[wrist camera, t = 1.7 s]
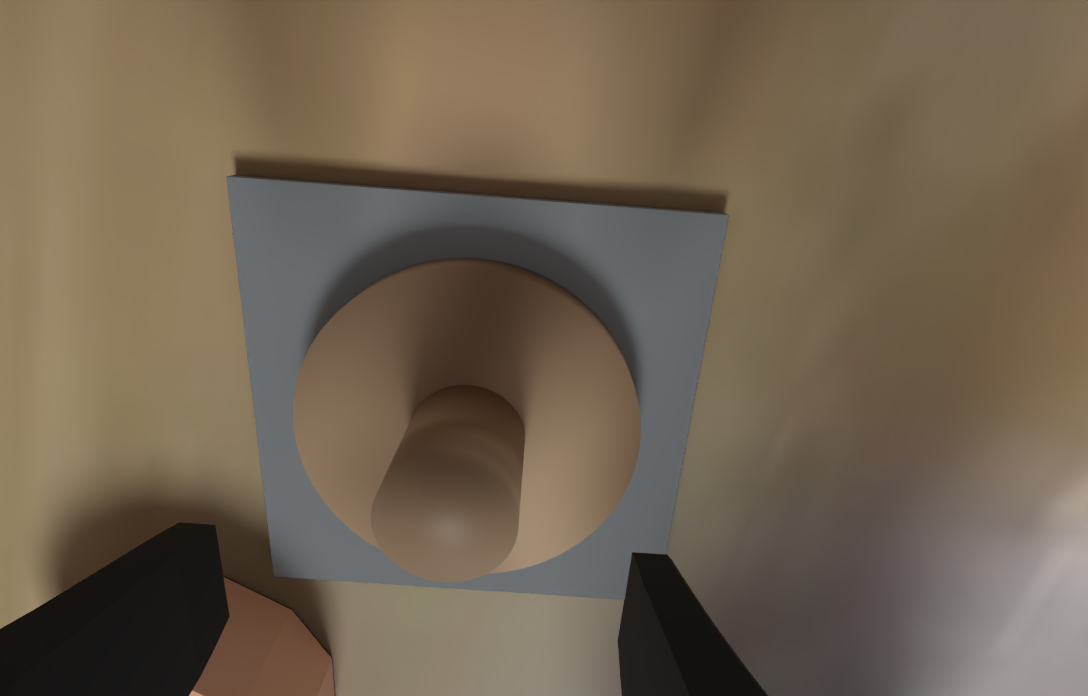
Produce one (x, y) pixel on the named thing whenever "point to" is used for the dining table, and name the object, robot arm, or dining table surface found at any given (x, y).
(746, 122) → the dining table surface
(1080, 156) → the dining table surface
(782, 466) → the dining table surface
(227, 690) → the bowl
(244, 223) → the mat
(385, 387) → the lid
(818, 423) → the dining table surface
